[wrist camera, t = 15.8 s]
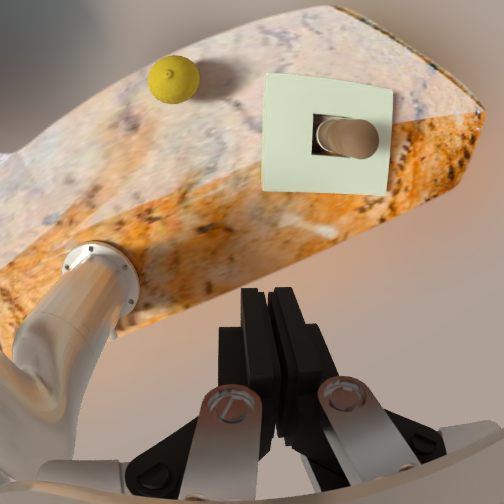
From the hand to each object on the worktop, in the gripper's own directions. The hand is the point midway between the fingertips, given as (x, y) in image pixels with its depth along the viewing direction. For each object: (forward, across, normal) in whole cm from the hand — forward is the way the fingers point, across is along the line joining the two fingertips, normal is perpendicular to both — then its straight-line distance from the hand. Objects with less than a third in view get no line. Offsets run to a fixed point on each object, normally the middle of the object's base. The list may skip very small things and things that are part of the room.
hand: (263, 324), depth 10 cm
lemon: (+29, +7, -12) cm, 32 cm away
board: (+29, -11, -6) cm, 32 cm away
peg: (+29, -11, -6) cm, 32 cm away
